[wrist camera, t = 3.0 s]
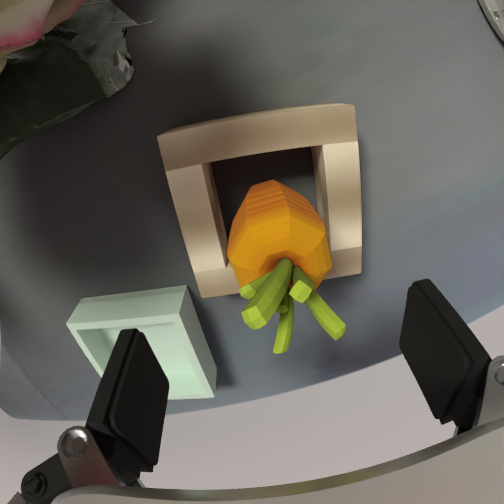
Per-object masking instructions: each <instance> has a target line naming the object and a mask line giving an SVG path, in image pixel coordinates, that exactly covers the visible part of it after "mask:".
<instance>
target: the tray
mask: <svg viewBox="0 0 504 504" xmlns="http://www.w3.org/2000/svg"><path fill="white" fill-rule="evenodd" d="M66 325H67V326H68V328H69V330H70V331H71V333H72V334H73V336H74V338H75V339H76V341H77V342H78V344H79V345H80V347H81V349H82V350H83V352H84V353H85V355H86V356H87V358H88V359H89V361H90V362H91V363H92V365H93V366H94V368H95V369H96V371H97V372H98V373H99V375H100V376H101V378H102V376H103V373H104V371H105V368H106V366H107V363H108V361H109V358H110V355H111V353H112V350H113V348H114V345H115V343H116V340H117V338H118V335H119V333H120V331H121V330H122V329H132V328H137V329H138V330H139V331H140V332H143V333H144V334H145V336H146V338H147V340H148V342H149V344H150V346H151V348H152V350H153V352H154V354H155V356H156V358H157V360H158V362H159V364H160V365H161V367H162V369H163V371H164V373H165V375H166V376H167V378H168V380H169V386H170V388H169V394H168V399H195V398H213V397H215V390H216V376H217V367H216V365H215V362H214V360H213V357H212V354H211V352H210V349H209V346H208V344H207V341H206V338H205V336H204V333H203V330H202V328H201V325H200V322H199V319H198V316H197V314H196V311H195V308H194V305H193V302H192V299H191V296H190V294H189V291H188V288H187V285H181V286H173V287H166V288H159V289H151V290H144V291H136V292H129V293H121V294H113V295H105V296H97V297H89V298H82V299H81V300H80V302H79V303H78V305H77V307H76V308H75V310H74V311H73V313H72V315H71V316H70V318H69V320H68V321H67V323H66Z"/></svg>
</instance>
